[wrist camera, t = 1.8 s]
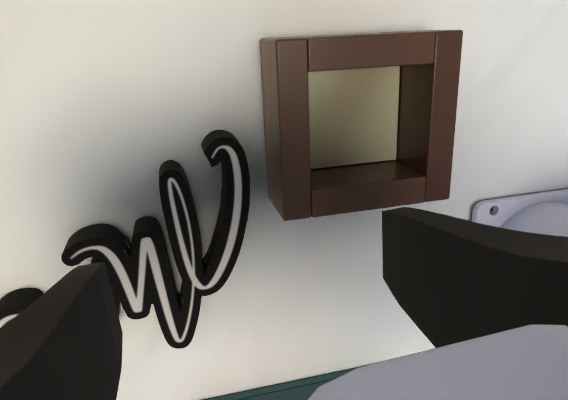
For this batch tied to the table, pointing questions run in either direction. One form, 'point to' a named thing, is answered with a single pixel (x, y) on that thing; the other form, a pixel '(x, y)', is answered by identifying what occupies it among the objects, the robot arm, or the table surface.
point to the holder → (286, 389)
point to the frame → (359, 120)
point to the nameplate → (165, 248)
